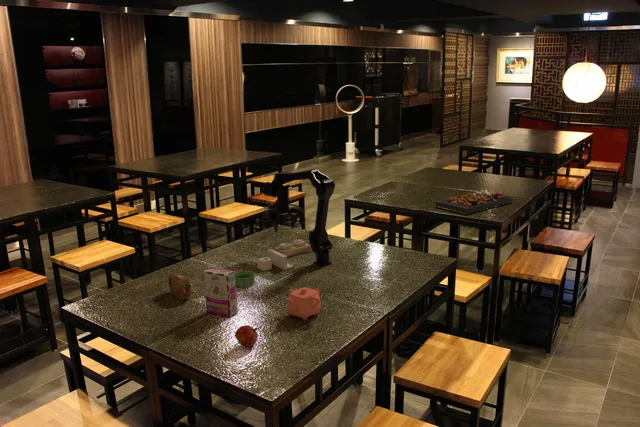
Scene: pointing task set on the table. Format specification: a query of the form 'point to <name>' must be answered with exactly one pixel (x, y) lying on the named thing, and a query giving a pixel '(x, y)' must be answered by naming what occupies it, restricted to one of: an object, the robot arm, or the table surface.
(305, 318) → the pink rounded piece
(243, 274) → the ramekin
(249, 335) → the red apple
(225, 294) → the candy bar box
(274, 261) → the grey screen
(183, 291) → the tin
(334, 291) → the table surface
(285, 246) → the button
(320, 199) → the robot arm
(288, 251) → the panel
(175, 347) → the table surface
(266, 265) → the letter block
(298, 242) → the T button
